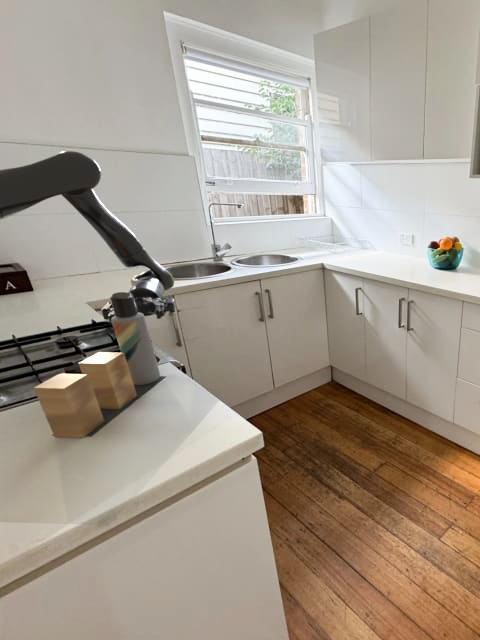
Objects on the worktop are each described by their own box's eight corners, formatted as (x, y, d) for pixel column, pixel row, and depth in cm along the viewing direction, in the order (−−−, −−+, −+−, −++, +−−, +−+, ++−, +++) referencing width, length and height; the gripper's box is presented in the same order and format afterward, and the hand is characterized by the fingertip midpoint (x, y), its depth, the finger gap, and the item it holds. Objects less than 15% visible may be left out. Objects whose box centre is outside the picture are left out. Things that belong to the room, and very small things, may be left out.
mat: (92, 438, 67) (91, 436, 67) (52, 437, 67) (51, 435, 67) (167, 377, 87) (166, 376, 87) (136, 376, 87) (136, 375, 87)
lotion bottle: (150, 371, 89) (127, 288, 81) (166, 377, 87) (143, 292, 79) (124, 382, 84) (97, 295, 76) (140, 388, 82) (114, 299, 74)
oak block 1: (83, 438, 67) (63, 388, 62) (54, 437, 66) (33, 387, 62) (104, 421, 71) (87, 374, 67) (78, 420, 71) (59, 373, 67)
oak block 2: (120, 409, 75) (105, 363, 71) (94, 408, 75) (78, 363, 71) (137, 395, 79) (123, 352, 75) (113, 395, 79) (98, 351, 75)
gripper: (108, 286, 95) (92, 305, 82) (173, 281, 101) (168, 298, 88) (116, 314, 98) (102, 337, 85) (179, 307, 104) (175, 328, 91)
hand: (136, 317), depth 87 cm, fingers open, 8 cm apart
